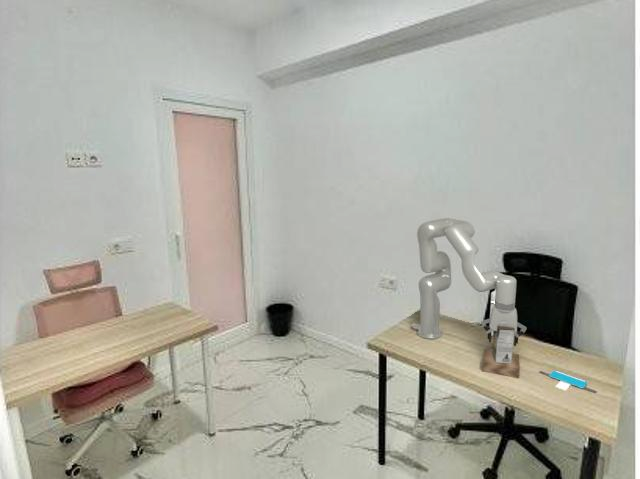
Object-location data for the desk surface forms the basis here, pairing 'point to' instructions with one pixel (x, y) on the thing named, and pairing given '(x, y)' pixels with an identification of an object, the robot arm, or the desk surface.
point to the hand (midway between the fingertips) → (502, 342)
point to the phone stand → (568, 380)
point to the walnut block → (500, 365)
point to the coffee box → (503, 344)
